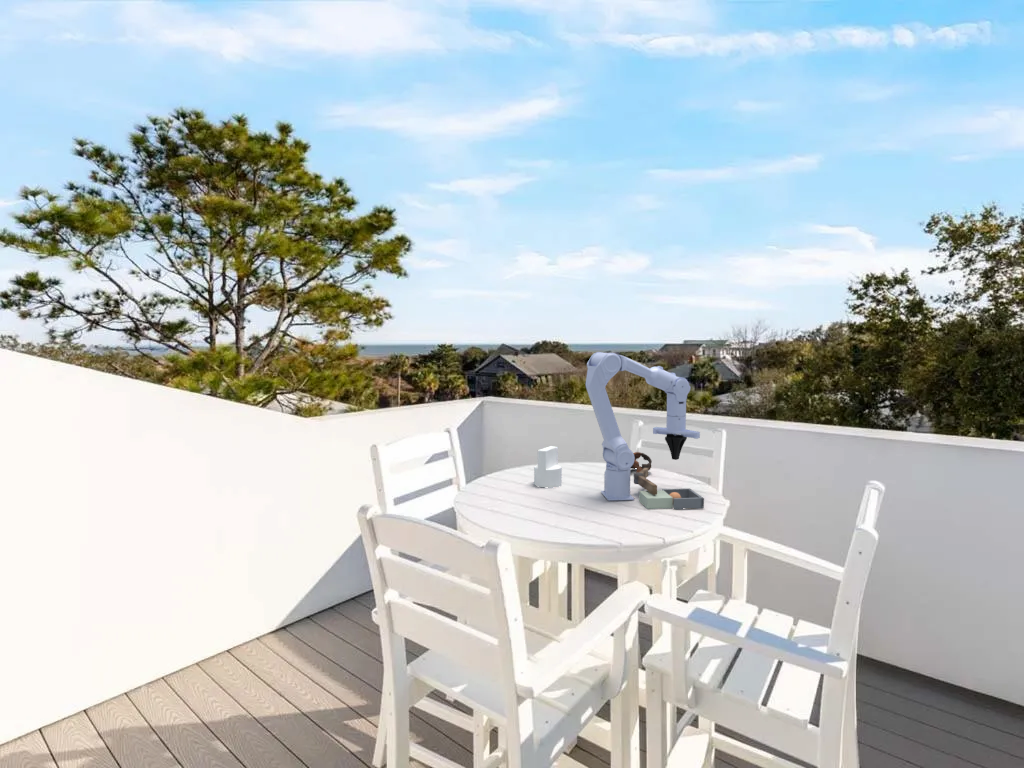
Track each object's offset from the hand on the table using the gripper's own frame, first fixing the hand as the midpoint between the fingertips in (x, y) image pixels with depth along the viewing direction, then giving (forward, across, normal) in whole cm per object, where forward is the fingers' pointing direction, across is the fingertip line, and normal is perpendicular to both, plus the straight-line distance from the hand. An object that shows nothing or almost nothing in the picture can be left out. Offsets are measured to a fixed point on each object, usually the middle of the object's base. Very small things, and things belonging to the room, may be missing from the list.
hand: (675, 459), depth 184 cm
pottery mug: (+11, +23, -15) cm, 29 cm away
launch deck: (+10, -2, +16) cm, 19 cm away
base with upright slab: (+11, +36, +18) cm, 42 cm away
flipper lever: (+7, +4, +8) cm, 12 cm away
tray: (+10, -7, +10) cm, 16 cm away
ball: (+9, -6, +13) cm, 16 cm away
